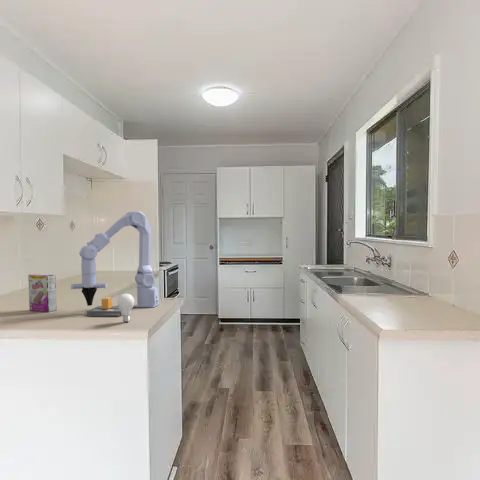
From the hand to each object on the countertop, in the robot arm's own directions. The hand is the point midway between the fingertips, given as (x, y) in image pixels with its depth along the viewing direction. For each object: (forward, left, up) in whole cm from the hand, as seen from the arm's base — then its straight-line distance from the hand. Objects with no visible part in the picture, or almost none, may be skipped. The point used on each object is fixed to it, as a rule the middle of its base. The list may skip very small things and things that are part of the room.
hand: (89, 305), depth 167 cm
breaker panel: (-9, 0, -3) cm, 9 cm away
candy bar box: (+24, -4, -4) cm, 25 cm away
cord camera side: (-10, +6, -3) cm, 12 cm away
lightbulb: (-23, +15, -4) cm, 27 cm away
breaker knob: (-8, 0, -1) cm, 8 cm away
